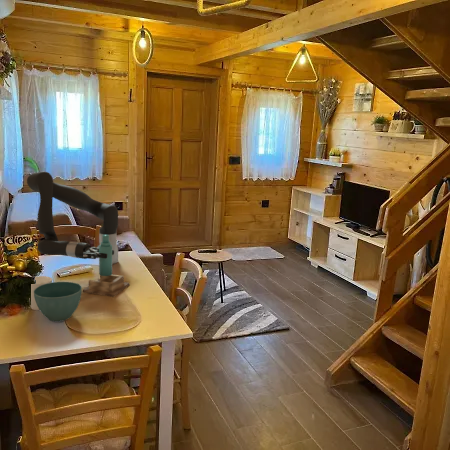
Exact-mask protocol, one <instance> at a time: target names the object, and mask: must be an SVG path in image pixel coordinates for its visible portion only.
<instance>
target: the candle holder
mask: <svg viewBox="0 0 450 450" xmlns="http://www.w3.org/2000/svg"><path fill="white" fill-rule="evenodd" d="M34 277H35V280H36V284H31V305H30V304H29V305H30V306H29V307H30V309H32V310H33V311H40V310H39V308H38V306H37V304H36V301H35V298H34V290H35V289H36V288H37V287H39V286H41V285H44V284H48V283H53V278H52V277H51V276H46V275H45V276H43V275H42V276H34Z"/></svg>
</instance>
